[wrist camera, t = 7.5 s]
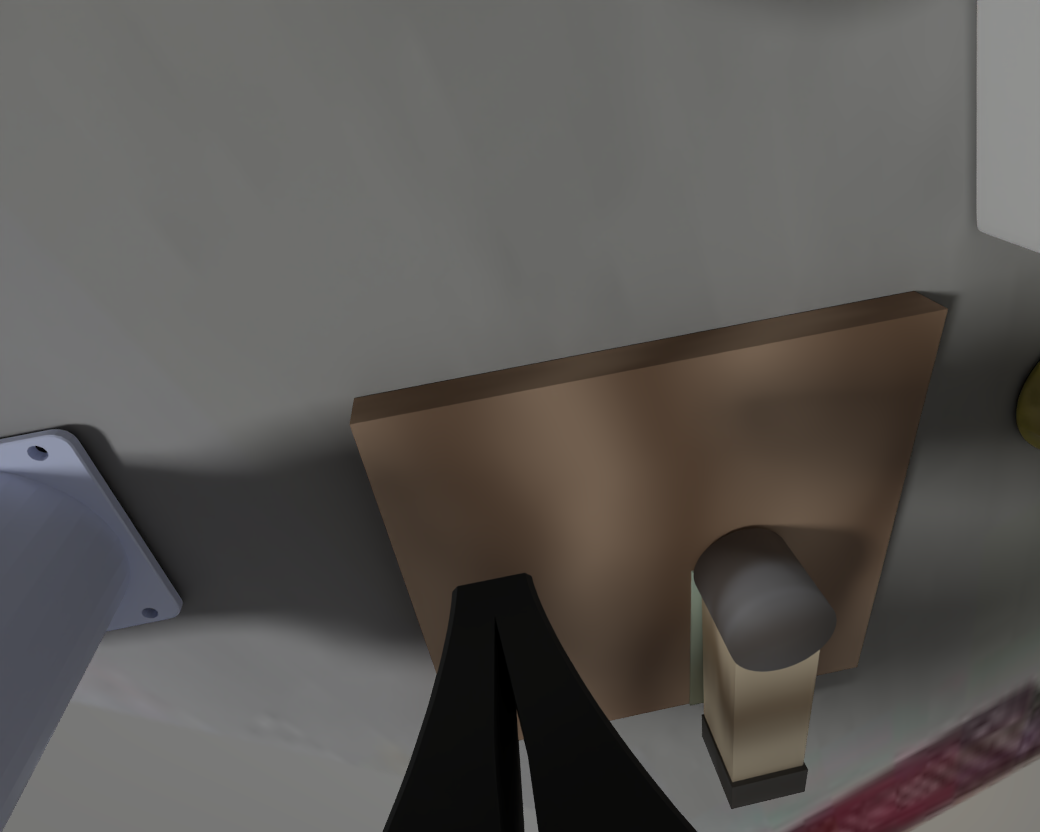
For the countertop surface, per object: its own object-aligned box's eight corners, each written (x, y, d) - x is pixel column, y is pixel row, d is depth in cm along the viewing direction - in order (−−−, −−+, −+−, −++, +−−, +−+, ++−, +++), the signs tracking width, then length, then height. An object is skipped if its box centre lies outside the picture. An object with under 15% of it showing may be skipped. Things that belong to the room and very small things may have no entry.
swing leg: (692, 541, 22) (730, 613, 19) (790, 518, 22) (842, 586, 19) (698, 737, 29) (726, 810, 26) (772, 719, 29) (809, 790, 26)
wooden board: (462, 720, 28) (464, 754, 27) (354, 398, 19) (349, 426, 18) (837, 639, 29) (858, 669, 28) (914, 291, 20) (950, 310, 18)
